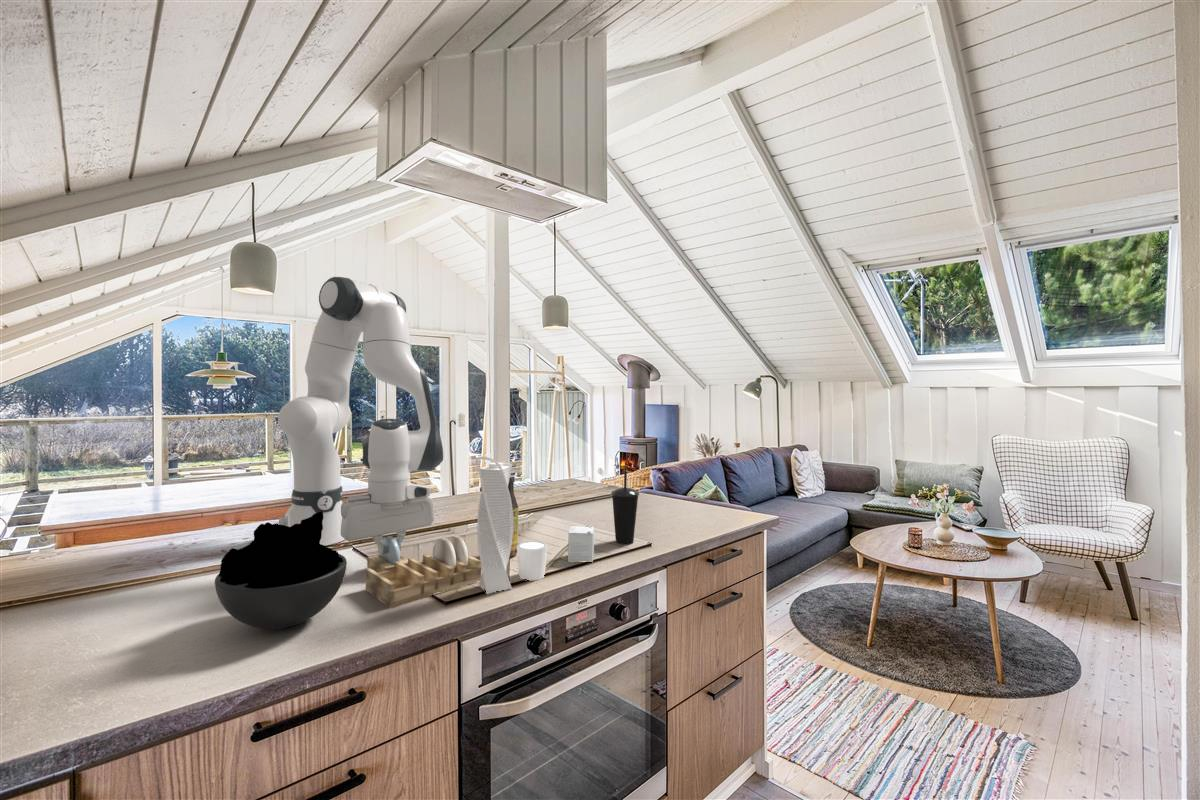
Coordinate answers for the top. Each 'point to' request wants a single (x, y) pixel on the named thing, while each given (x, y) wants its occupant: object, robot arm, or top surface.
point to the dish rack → (425, 574)
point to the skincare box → (580, 544)
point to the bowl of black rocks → (280, 575)
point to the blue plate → (391, 550)
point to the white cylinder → (532, 559)
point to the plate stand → (382, 563)
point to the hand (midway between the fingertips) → (389, 552)
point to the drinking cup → (624, 512)
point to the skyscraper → (494, 525)
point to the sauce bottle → (515, 517)
